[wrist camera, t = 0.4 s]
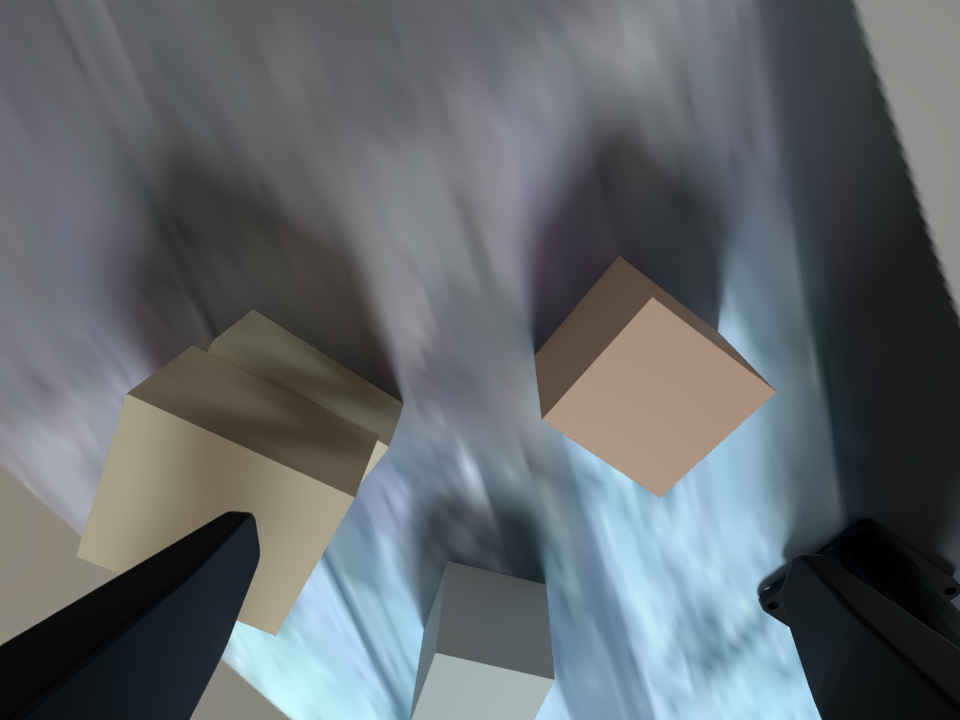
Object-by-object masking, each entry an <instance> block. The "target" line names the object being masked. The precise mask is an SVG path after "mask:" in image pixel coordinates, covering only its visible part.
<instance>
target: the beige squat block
mask: <svg viewBox="0 0 960 720" xmlns="http://www.w3.org/2000/svg"><path fill="white" fill-rule="evenodd" d="M378 438H379V435H378V434H376V433H374V432H372V431H370V430H368V429H366V428H364V427H362V426H360V425H358V424H356V423H353V422H351V421H349V420H347V419H345V418H343V417H341V416H339V415H337V414H335V413H333V412H331V411H328V410H326V409H324V408H322V407H320V406H318V405H316V404H314V403H312V402H310V401H308V400H306V399H303V398H301V397H299V396H297V395H295V394H293V393H291V392H289V391H287V390H285V389H283V388H281V387H278V386H276V385H274V384H272V383H270V382H268V381H266V380H264V379H262V378H260V377H258V376H256V375H253V374H251V373H249V372H247V371H245V370H243V369H241V368H239V367H237V366H235V365H233V364H231V363H228V362H226V361H224V360H222V359H220V358H218V357H216V356H214V355H212V354H210V353H208V352H206V351H203V350H201V349H199V348H197V347H195V346H193V345H192V346H191V347H189V348H188V349H187V350H185V351H184V352H183V353H181V354H180V355H178V356H177V357H176V358H174V359H173V360H172V361H170V362H169V363H168V364H166V365H165V366H164V367H162V368H161V369H159V370H158V371H157V372H155V373H154V374H153V375H151V376H150V377H149V378H147V379H146V380H145V381H143V382H142V383H141V384H139V385H138V386H136V387H135V388H134V389H132V390H131V391H130V392H128V393H127V394H126V398H125V401H124V404H123V407H122V411H121V414H120V417H119V420H118V424H117V427H116V430H115V433H114V436H113V440H112V443H111V446H110V449H109V453H108V456H107V459H106V462H105V466H104V469H103V472H102V475H101V478H100V482H99V485H98V488H97V491H96V495H95V498H94V501H93V504H92V508H91V511H90V514H89V517H88V520H87V524H86V527H85V530H84V533H83V537H82V540H81V543H80V547H79V550H78V553H77V557H79V558H82V559H84V560H87V561H89V562H92V563H94V564H97V565H99V566H102V567H104V568H107V569H109V570H112V571H114V572H117V573H119V574H122V573H124V572H126V571H127V570H129V569H131V568H132V567H134V566H136V565H137V564H139V563H141V562H143V561H144V560H146V559H148V558H149V557H151V556H153V555H154V554H156V553H158V552H159V551H161V550H163V549H164V548H166V547H168V546H170V545H171V544H173V543H175V542H176V541H178V540H180V539H181V538H183V537H185V536H186V535H188V534H190V533H192V532H193V531H195V530H197V529H198V528H200V527H202V526H203V525H205V524H207V523H208V522H210V521H212V520H213V519H215V518H217V517H219V516H220V515H222V514H224V513H226V512H228V511H241V512H250V513H252V514H253V515H254V517H255V520H256V525H257V532H258V538H259V544H260V559H259V563H258V566H257V569H256V571H255V574H254V577H253V579H252V582H251V584H250V587H249V589H248V592H247V595H246V597H245V600H244V602H243V605H242V608H241V610H240V613H239V615H238V618H237V621H240V622H242V623H245V624H247V625H250V626H252V627H255V628H257V629H260V630H262V631H265V632H267V633H270V634H272V635H275V636H276V634H277V633H278V631H279V629H280V627H281V626H282V624H283V622H284V620H285V619H286V617H287V615H288V613H289V612H290V610H291V608H292V606H293V605H294V603H295V601H296V599H297V598H298V596H299V594H300V592H301V591H302V589H303V587H304V585H305V584H306V582H307V580H308V578H309V577H310V575H311V573H312V571H313V570H314V568H315V566H316V564H317V563H318V561H319V559H320V558H321V556H322V554H323V552H324V551H325V549H326V547H327V545H328V544H329V542H330V540H331V538H332V537H333V535H334V533H335V531H336V530H337V528H338V526H339V524H340V523H341V521H342V519H343V517H344V516H345V514H346V512H347V510H348V509H349V507H350V505H351V503H352V502H353V500H354V498H355V496H356V493H357V491H358V488H359V486H360V483H361V481H362V478H363V476H364V473H365V470H366V468H367V465H368V463H369V460H370V458H371V455H372V453H373V450H374V448H375V445H376V443H377V440H378Z"/></svg>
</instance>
